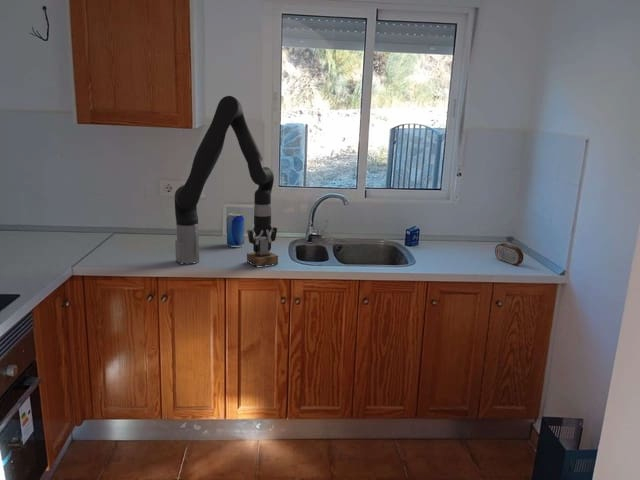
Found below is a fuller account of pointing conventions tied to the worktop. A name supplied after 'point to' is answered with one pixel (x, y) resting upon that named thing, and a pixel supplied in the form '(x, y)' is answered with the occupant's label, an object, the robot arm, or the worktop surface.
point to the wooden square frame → (262, 259)
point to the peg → (262, 247)
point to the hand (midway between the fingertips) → (262, 251)
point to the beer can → (235, 229)
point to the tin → (509, 254)
